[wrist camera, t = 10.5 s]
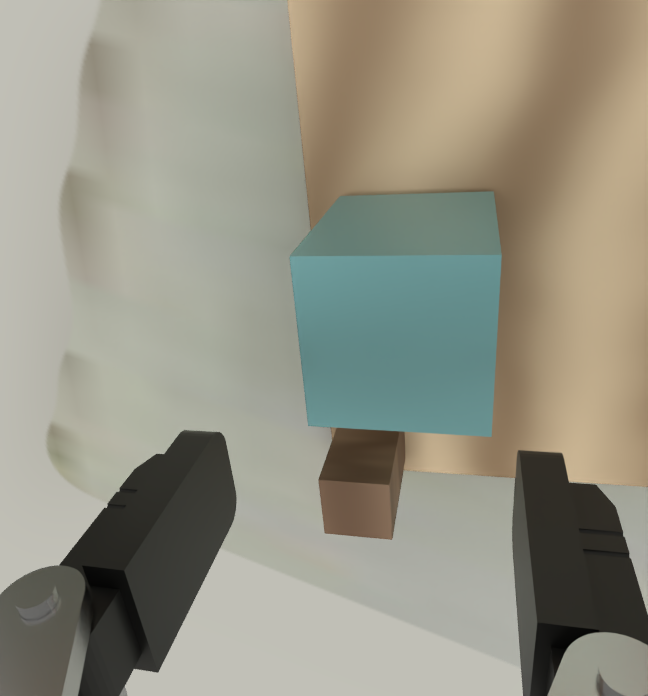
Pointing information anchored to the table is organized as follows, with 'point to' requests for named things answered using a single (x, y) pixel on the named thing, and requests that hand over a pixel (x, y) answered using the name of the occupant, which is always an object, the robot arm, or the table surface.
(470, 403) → the aqua square block
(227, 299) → the table surface
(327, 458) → the walnut post
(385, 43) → the oak board
